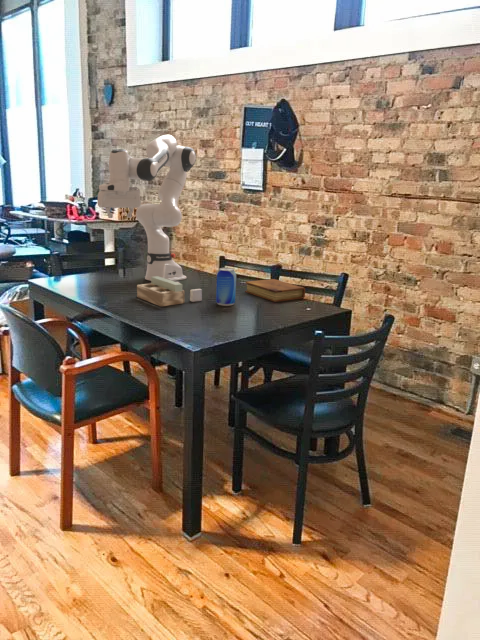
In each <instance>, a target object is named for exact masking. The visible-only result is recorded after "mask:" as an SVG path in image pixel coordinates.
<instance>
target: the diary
mask: <svg viewBox="0 0 480 640" xmlns="http://www.w3.org/2000/svg"><path fill="white" fill-rule="evenodd" d="M245 284H246V290H245V291H244V292H245V293H246V294H250V295H254V296H255V297H259V298H262V299H265V300H267V301H271V302H274V303H276V302H284V301H291V300H298V299H299V300H300V299H305V298H306V288H305V287H303V286H300V285H296V284H293V283H290V282H285V281H283V280H279V279H275V278H269V279H261V280H249V281H245Z"/></svg>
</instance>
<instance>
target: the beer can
mask: <svg viewBox="0 0 480 640" xmlns="http://www.w3.org/2000/svg"><path fill="white" fill-rule="evenodd" d="M218 270H219V271H218ZM218 270H217V271H218V272H217V274H216V290H215V291H216V292H215V303H216V304H217V305H219V306H225V307H228V306H229V307H230V306H233V305H235V303H236V292H237V291H236V290H237V273H236V272H235V268H232V267H220V268H219V269H218Z"/></svg>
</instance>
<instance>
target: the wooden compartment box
mask: <svg viewBox="0 0 480 640" xmlns="http://www.w3.org/2000/svg"><path fill="white" fill-rule="evenodd" d="M159 291H162V292H159ZM136 293H137V294H136V297H137V298H138V299H141V300H144V301H146V302H149V303H151V304H154V305H156V306H159V307H166V306H173V305H174V306H175V305H179V304H185V295H186V294H185V290H184V289H182V291H178V292H175V291H172V290H169V289H166V288H163V287H160V286H157V285H155V284H152V283H151V282H149V283H141V284H136Z"/></svg>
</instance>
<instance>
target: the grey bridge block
mask: <svg viewBox="0 0 480 640" xmlns="http://www.w3.org/2000/svg"><path fill="white" fill-rule="evenodd" d="M177 282H178V281H171V280H168V279H165V278H162V277H159V276H155V277H151V281H150V283H152V284H155V285H157V286H160V287H163V288H166V289H169V290H172V291H175V292H178V291H182V290H183V283H181V282H180V283H177ZM159 292H162V291H159Z"/></svg>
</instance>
